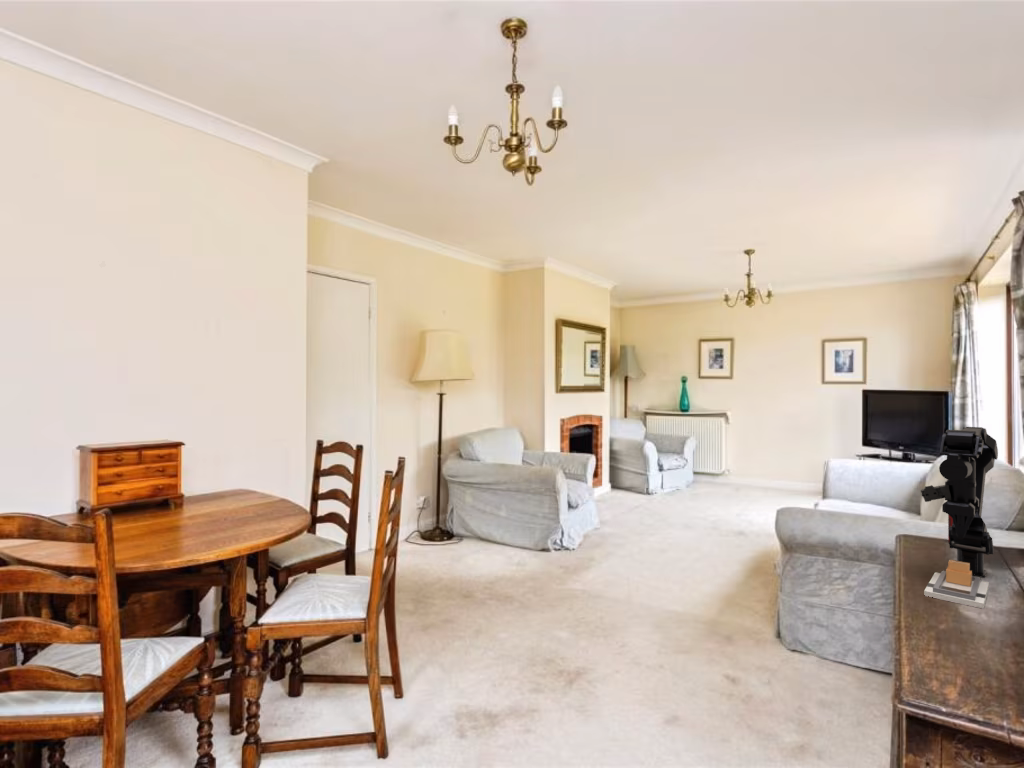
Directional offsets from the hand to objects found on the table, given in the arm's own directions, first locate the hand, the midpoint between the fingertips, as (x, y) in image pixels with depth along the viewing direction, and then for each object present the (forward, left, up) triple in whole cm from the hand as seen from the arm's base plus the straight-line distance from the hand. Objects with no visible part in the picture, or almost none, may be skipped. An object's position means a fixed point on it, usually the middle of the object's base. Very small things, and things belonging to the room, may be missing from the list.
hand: (961, 536), depth 143 cm
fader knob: (+6, 0, -11) cm, 12 cm away
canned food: (-48, -3, -12) cm, 50 cm away
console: (+10, 0, -12) cm, 15 cm away
